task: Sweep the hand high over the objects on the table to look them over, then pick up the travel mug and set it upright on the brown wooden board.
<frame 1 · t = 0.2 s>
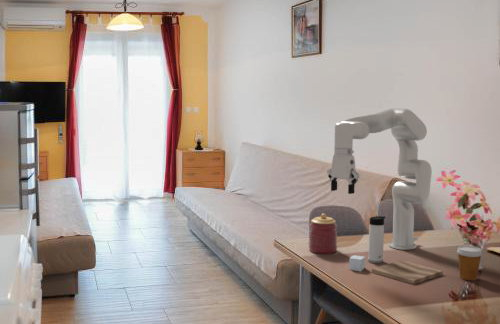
hand: (342, 192, 252), 31 cm above the table, tool pointing down, fingers open, 9 cm apart
disposable coffee cup: (468, 278, 236), on the table
grey-blue block: (357, 269, 248), on the table
travel mug: (376, 261, 259), on the table
canister: (322, 251, 277), on the table
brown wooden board: (407, 273, 242), on the table
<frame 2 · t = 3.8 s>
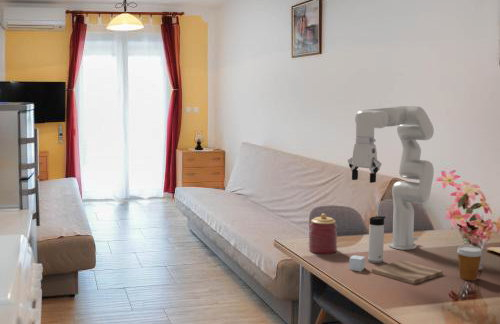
hand: (363, 181, 252), 36 cm above the table, tool pointing down, fingers open, 9 cm apart
nothing on the table moved.
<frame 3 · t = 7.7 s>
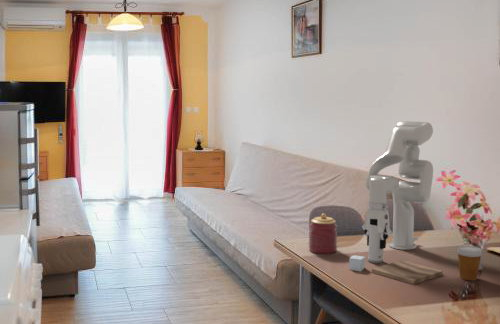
hand: (376, 246, 258), 7 cm above the table, tool pointing down, fingers closed on travel mug, 6 cm apart
travel mug: (375, 261, 259), on the table, touching gripper
everything else where it was.
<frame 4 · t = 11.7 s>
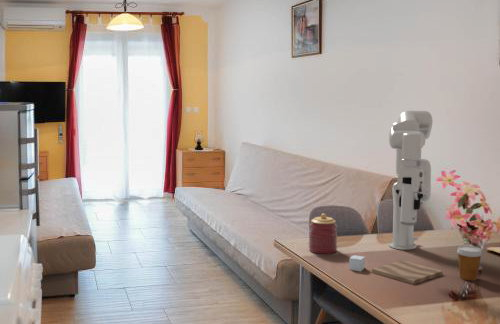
hand: (409, 207, 239), 27 cm above the table, tool pointing down, fingers closed on travel mug, 6 cm apart
travel mug: (408, 224, 240), point 20 cm above the table, touching gripper
everything else where it was.
when the fingers open (9 cm above the table, at t = 15.9 s): travel mug drops 1 cm, resting on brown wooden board.
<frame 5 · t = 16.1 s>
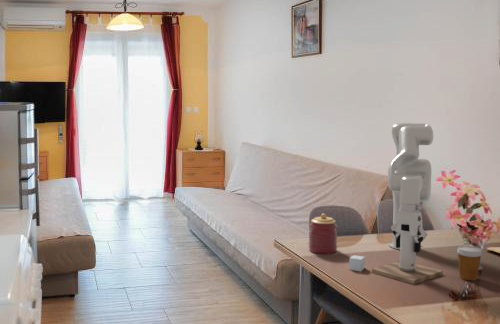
hand: (407, 249, 241), 10 cm above the table, tool pointing down, fingers open, 8 cm apart
travel mug: (407, 270, 242), point 1 cm above the table, touching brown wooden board
everything else where it was.
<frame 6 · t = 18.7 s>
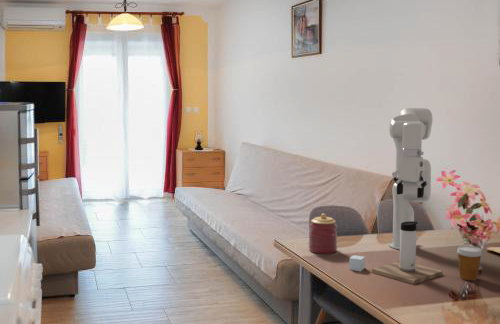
hand: (409, 195, 238), 32 cm above the table, tool pointing down, fingers open, 9 cm apart
nothing on the table moved.
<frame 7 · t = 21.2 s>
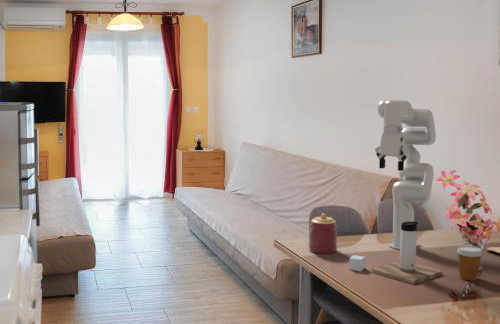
hand: (391, 169, 257), 40 cm above the table, tool pointing down, fingers open, 9 cm apart
nothing on the table moved.
at the end: travel mug inside the target area on the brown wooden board (0.2 cm from its centre), point 1.3 cm above the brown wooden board's base; travel mug tilted 0°; the gripper is holding nothing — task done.
